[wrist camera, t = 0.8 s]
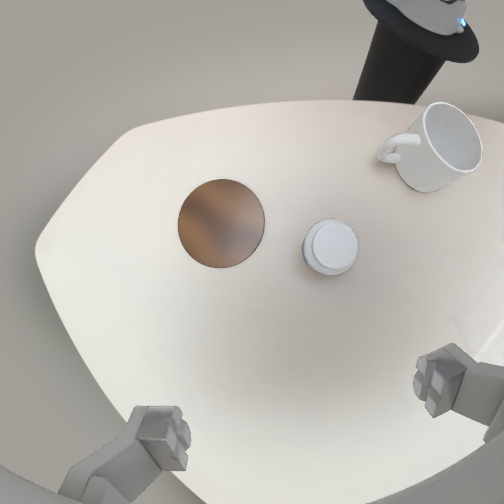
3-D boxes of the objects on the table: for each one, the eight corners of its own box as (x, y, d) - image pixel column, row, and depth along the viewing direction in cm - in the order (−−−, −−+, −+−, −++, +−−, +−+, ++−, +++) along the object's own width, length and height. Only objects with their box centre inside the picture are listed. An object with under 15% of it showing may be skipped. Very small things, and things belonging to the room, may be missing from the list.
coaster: (192, 173, 35) (191, 172, 34) (274, 190, 33) (274, 189, 33) (169, 254, 35) (168, 254, 35) (251, 278, 33) (251, 278, 33)
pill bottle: (338, 221, 32) (356, 206, 22) (351, 264, 32) (375, 266, 22) (295, 234, 33) (297, 223, 23) (308, 277, 32) (315, 285, 23)
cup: (448, 193, 30) (490, 174, 20) (373, 196, 32) (402, 172, 21) (435, 137, 30) (469, 106, 20) (361, 135, 32) (382, 95, 22)
